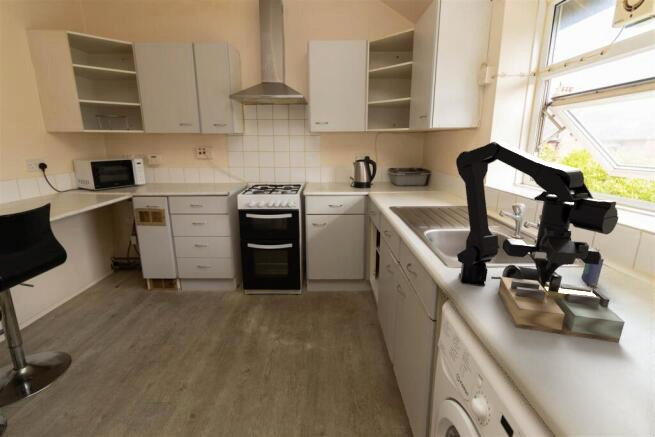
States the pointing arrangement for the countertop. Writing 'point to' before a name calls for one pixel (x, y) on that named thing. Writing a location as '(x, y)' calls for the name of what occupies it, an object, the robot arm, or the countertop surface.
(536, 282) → the frame
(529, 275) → the drinking cup
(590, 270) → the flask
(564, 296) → the bolt
